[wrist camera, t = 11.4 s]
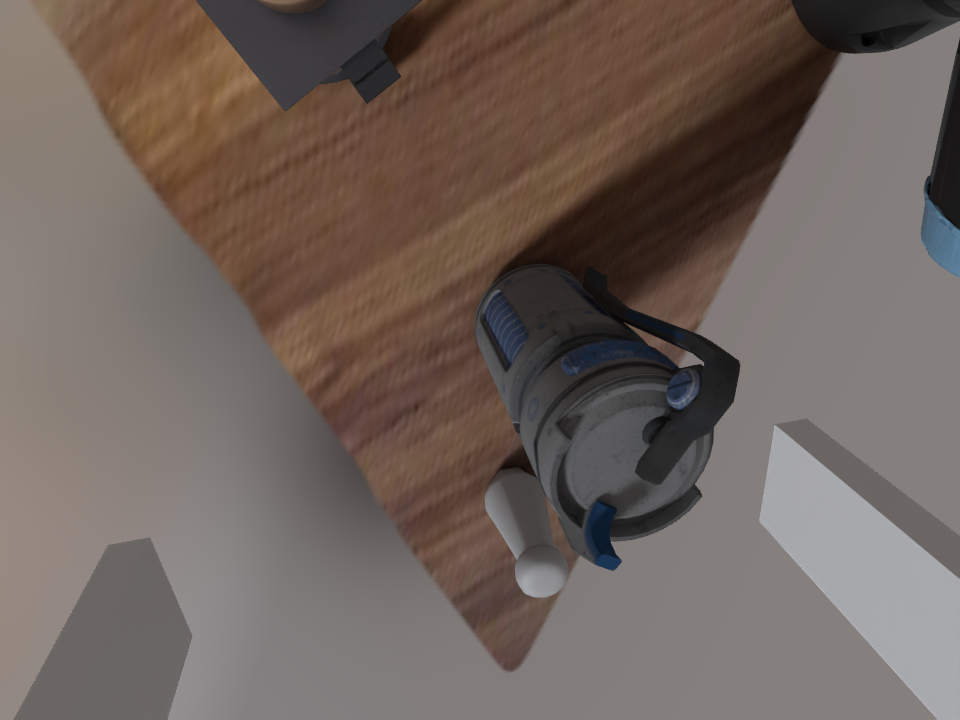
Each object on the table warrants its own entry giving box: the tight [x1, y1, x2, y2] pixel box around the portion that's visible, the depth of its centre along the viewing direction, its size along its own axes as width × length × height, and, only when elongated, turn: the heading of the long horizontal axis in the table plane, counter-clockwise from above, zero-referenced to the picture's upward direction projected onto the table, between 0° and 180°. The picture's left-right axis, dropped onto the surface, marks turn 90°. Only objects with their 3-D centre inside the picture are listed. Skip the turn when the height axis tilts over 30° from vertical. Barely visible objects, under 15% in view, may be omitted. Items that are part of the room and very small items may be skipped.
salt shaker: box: [485, 467, 568, 597], centre depth 53 cm, size 6×6×13 cm
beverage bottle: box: [475, 264, 740, 571], centre depth 40 cm, size 10×13×25 cm
